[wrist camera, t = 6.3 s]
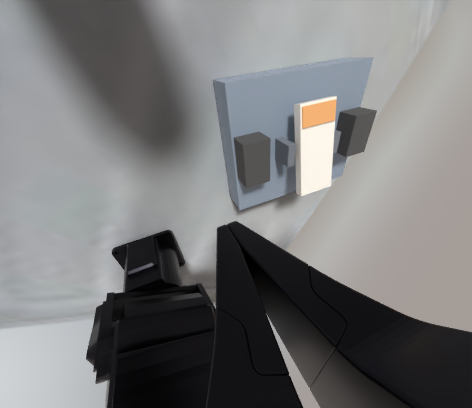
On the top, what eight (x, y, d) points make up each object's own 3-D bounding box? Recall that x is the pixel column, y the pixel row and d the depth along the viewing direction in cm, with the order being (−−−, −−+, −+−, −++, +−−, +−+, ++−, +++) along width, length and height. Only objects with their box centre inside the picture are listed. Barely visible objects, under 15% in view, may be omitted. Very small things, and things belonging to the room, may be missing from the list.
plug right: (348, 145, 22) (364, 151, 21) (331, 150, 22) (345, 157, 20) (358, 107, 20) (376, 110, 18) (339, 111, 19) (356, 115, 18)
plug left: (260, 171, 20) (270, 180, 18) (237, 178, 19) (246, 188, 18) (258, 131, 17) (270, 138, 16) (233, 137, 17) (242, 145, 15)
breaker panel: (325, 166, 27) (356, 183, 23) (230, 196, 24) (248, 222, 20) (346, 57, 20) (398, 57, 16) (212, 79, 16) (236, 86, 12)
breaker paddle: (324, 183, 20) (331, 186, 20) (296, 193, 20) (302, 196, 19) (329, 96, 17) (338, 96, 16) (293, 104, 16) (301, 104, 15)
